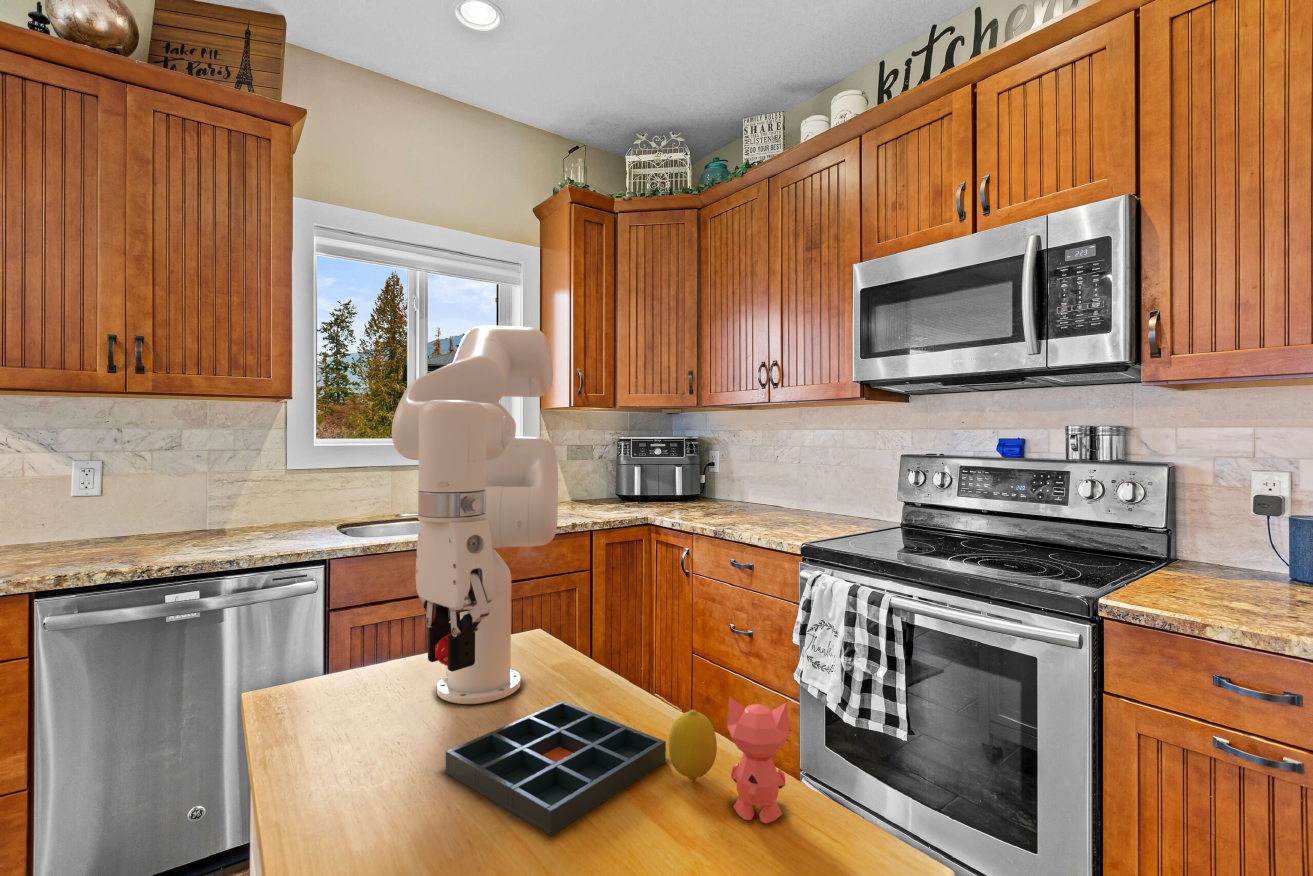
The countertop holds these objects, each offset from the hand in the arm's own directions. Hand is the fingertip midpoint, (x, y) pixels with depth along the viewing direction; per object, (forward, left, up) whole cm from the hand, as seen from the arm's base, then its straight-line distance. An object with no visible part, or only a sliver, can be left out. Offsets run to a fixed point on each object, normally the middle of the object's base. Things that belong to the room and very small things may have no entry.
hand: (451, 661), depth 72 cm
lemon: (+23, +17, -13) cm, 31 cm away
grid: (+9, +9, -13) cm, 18 cm away
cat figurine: (+32, +16, -13) cm, 38 cm away
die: (0, 0, 0) cm, 0 cm away
